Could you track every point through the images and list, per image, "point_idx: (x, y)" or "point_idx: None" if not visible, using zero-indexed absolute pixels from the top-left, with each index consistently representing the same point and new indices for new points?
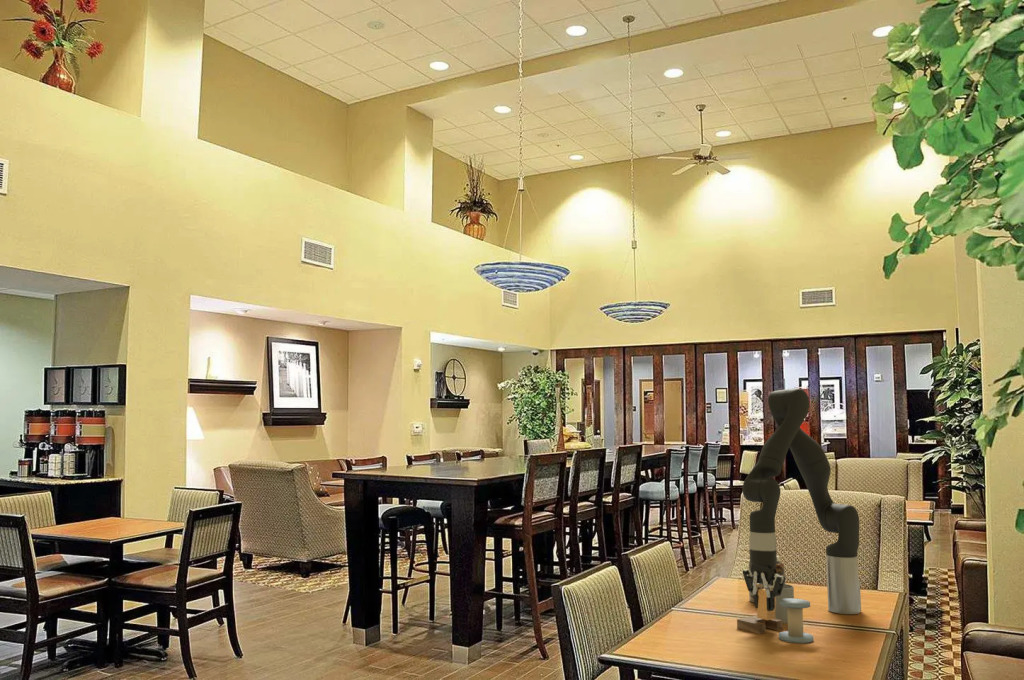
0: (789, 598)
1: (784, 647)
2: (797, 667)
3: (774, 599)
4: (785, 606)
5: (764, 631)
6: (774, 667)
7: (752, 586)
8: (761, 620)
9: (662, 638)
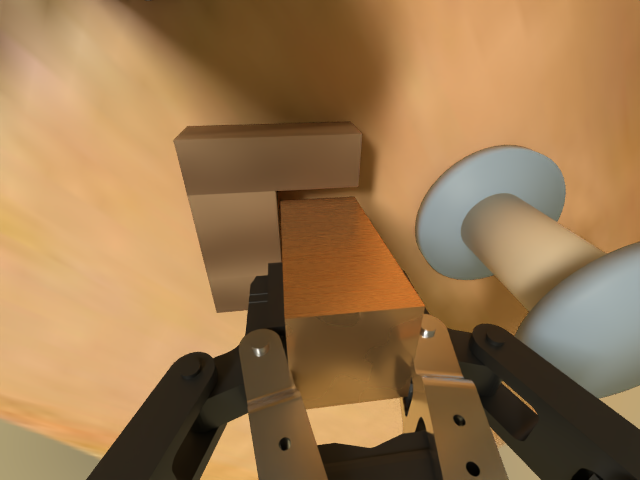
0: (579, 309)
1: (492, 316)
2: None
3: (425, 311)
4: None
5: None
6: None
7: (171, 401)
8: (277, 219)
9: (227, 468)
